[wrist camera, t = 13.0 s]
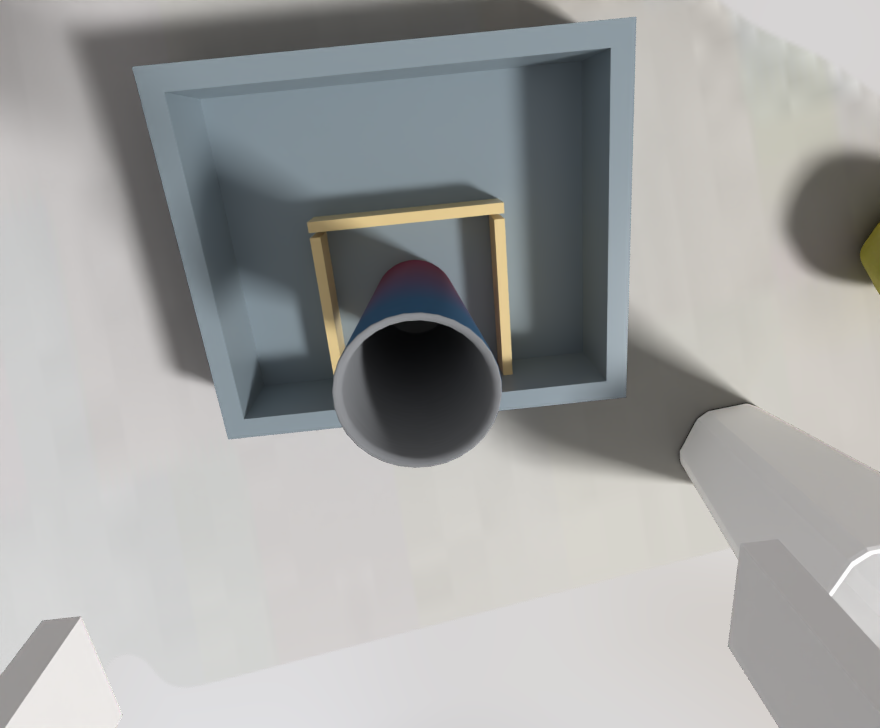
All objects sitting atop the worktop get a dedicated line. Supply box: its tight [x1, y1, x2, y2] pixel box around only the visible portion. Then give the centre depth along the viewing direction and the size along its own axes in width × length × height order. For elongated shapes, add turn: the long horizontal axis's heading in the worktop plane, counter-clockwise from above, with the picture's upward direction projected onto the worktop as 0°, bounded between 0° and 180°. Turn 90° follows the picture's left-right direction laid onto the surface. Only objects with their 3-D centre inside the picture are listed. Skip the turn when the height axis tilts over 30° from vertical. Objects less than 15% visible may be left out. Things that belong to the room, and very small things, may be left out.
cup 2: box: [680, 403, 880, 649], centre depth 35 cm, size 11×10×17 cm
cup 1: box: [332, 260, 502, 468], centre depth 30 cm, size 7×7×15 cm
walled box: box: [132, 17, 636, 439], centre depth 34 cm, size 20×24×6 cm
